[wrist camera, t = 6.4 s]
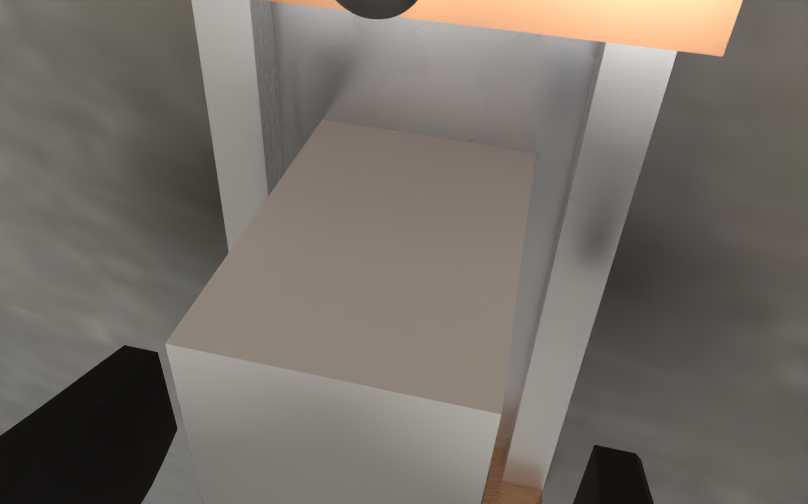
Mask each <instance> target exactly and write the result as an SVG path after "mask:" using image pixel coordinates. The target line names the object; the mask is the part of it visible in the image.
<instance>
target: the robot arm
mask: <svg viewBox="0 0 808 504" xmlns="http://www.w3.org/2000/svg"><path fill="white" fill-rule="evenodd" d="M176 431H177V425H176V421H175V417H174V414H173V410H172V406H171V402H170V398H169V394H168V390H167V386H166V383H165V379H164V375H163V371H162V367H161V363H160V359H159V356H158V352H154V351H149V350H145V349H140V348H135V347H130V346H126V345H124V346H123V347H122V348H120V349H119V350H117V351H116V352H115V353H113V354H112V355H110V356H109V357H108V358H106V359H105V360H104V361H102V362H101V363H99V364H98V365H97V366H95V367H94V368H93V369H91V370H90V371H89V372H87V373H86V374H85V375H83V376H82V377H80V378H79V379H78V380H76V381H75V382H74V383H72V384H71V385H70V386H68V387H67V388H66V389H64V390H63V391H62V392H60V393H59V394H58V395H56V396H55V397H54V398H52V399H51V400H49V401H48V402H47V403H45V404H44V405H43V406H41V407H40V408H39V409H37V410H36V411H34V412H33V413H32V414H30V415H29V416H27V417H26V418H25V419H23V420H22V421H20V422H19V423H18V424H16V425H15V426H13V427H12V428H11V429H9V430H8V431H6V432H5V433H4V434H2V435H1V436H0V504H141V503H142V501H143V499H144V498H145V496H146V494H147V493H148V491H149V489H150V488H151V486H152V484H153V482H154V480H155V478H156V475H157V473H158V471H159V469H160V467H161V465H162V463H163V461H164V459H165V456H166V454H167V452H168V449H169V447H170V445H171V443H172V440H173V438H174V436H175V434H176ZM573 504H654V503H653V499H652V496H651V493H650V490H649V486H648V483H647V480H646V476H645V473H644V469H643V465H642V461H641V459H640V458H639V457H638V456H637V454H635V453H631V452H626V451H621V450H616V449H612V448H607V447H602V446H598V445H594V448H593V451H592V453H591V456H590V459H589V462H588V464H587V467H586V470H585V473H584V475H583V478H582V481H581V484H580V486H579V489H578V492H577V495H576V497H575V500H574V503H573Z"/></svg>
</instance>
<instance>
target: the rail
mask: <svg viewBox="0 0 808 504" xmlns="http://www.w3.org/2000/svg"><path fill="white" fill-rule="evenodd" d="M191 1H192V7H193V14H194V21H195V28H196V34H197V41H198V48H199V55H200V62H201V68H202V75H203V82H204V89H205V95H206V102H207V109H208V116H209V122H210V129H211V136H212V143H213V149H214V156H215V163H216V170H217V176H218V183H219V190H220V197H221V203H222V210H223V217H224V224H225V231H226V237H227V244H228V251H229V252H230V250H231V249H232V248H233V246H234V245H235V243H236V242H237V240H238V239H239V238H240V236H241V235H242V233H243V232H244V231H245V229H246V228H247V226H248V225H249V223H250V222H251V221H252V219H253V218H254V216H255V215H256V213H257V212H258V211H259V209H260V208H261V206H262V205H263V203H264V202H265V201H266V199H267V198H268V196H269V195H270V193H271V192H272V191H273V189H274V188H275V186H276V185H277V183H278V182H279V181H280V179H281V178H282V176H283V175H284V173H285V172H286V171H287V169H288V168H289V166H290V165H291V163H292V162H293V161H294V159H295V158H296V156H297V155H298V153H299V152H300V151H301V149H302V148H303V146H304V145H305V143H306V142H307V141H308V139H309V138H310V136H311V135H312V133H313V132H314V131H315V129H316V128H317V126H318V125H319V123H320V122H321V121H322V119H324V120H331V121H337V122H344V123H350V124H356V125H363V126H369V127H375V128H382V129H388V130H395V131H401V132H407V133H414V134H420V135H427V136H433V137H439V138H446V139H452V140H459V141H465V142H471V143H478V144H484V145H491V146H497V147H503V148H510V149H516V150H523V151H529V152H535V153H536V156H535V164H534V171H533V179H532V187H531V194H530V202H529V209H528V217H527V224H526V232H525V240H524V247H523V255H522V262H521V270H520V277H519V285H518V293H517V300H516V308H515V315H514V323H513V331H512V338H511V346H510V353H509V361H508V368H507V376H506V384H505V391H504V399H503V406H502V414H501V419H500V423H499V427H498V432H497V436H496V440H495V445H494V449H493V453H492V458H491V463H490V470H489V477H488V482H487V486H486V491H485V495H484V499H483V503H482V504H541V503H542V490H543V487H544V484H545V480H546V477H547V474H548V471H549V467H550V464H551V461H552V458H553V454H554V451H555V448H556V445H557V441H558V438H559V435H560V432H561V428H562V425H563V422H564V419H565V415H566V412H567V409H568V406H569V402H570V399H571V396H572V393H573V389H574V386H575V383H576V380H577V376H578V373H579V370H580V367H581V363H582V360H583V357H584V353H585V350H586V347H587V344H588V340H589V337H590V334H591V331H592V327H593V324H594V321H595V318H596V314H597V311H598V308H599V305H600V301H601V298H602V295H603V292H604V288H605V285H606V282H607V279H608V275H609V272H610V269H611V266H612V262H613V259H614V256H615V253H616V249H617V246H618V243H619V240H620V236H621V233H622V230H623V226H624V223H625V220H626V217H627V213H628V210H629V207H630V204H631V200H632V197H633V194H634V191H635V187H636V184H637V181H638V178H639V174H640V171H641V168H642V165H643V161H644V158H645V155H646V152H647V148H648V145H649V142H650V139H651V135H652V132H653V129H654V126H655V122H656V119H657V116H658V113H659V109H660V106H661V103H662V99H663V96H664V93H665V90H666V86H667V83H668V80H669V77H670V73H671V70H672V67H673V64H674V60H675V57H676V54H677V51H682V52H690V53H698V54H706V55H715V56H723V55H724V52H725V49H726V46H727V43H728V41H729V38H730V35H731V32H732V29H733V26H734V24H735V21H736V18H737V15H738V12H739V9H740V6H741V4H742V1H743V0H191Z"/></svg>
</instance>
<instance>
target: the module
mask: <svg viewBox="0 0 808 504" xmlns="http://www.w3.org/2000/svg"><path fill="white" fill-rule="evenodd" d="M535 156H536V153H535V152H529V151H523V150H516V149H510V148H503V147H497V146H491V145H484V144H478V143H471V142H465V141H459V140H452V139H446V138H439V137H433V136H427V135H420V134H414V133H407V132H401V131H395V130H388V129H382V128H375V127H369V126H363V125H356V124H350V123H344V122H337V121H331V120H324V119H322V121H321V122H320V123H319V125H318V126H317V128H316V129H315V131H314V132H313V133H312V135H311V136H310V138H309V139H308V141H307V142H306V143H305V145H304V146H303V148H302V149H301V151H300V152H299V153H298V155H297V156H296V158H295V159H294V161H293V162H292V163H291V165H290V166H289V168H288V169H287V171H286V172H285V173H284V175H283V176H282V178H281V179H280V181H279V182H278V183H277V185H276V186H275V188H274V189H273V191H272V192H271V193H270V195H269V196H268V198H267V199H266V201H265V202H264V203H263V205H262V206H261V208H260V209H259V211H258V212H257V213H256V215H255V216H254V218H253V219H252V221H251V222H250V223H249V225H248V226H247V228H246V229H245V231H244V232H243V233H242V235H241V236H240V238H239V239H238V240H237V242H236V243H235V245H234V246H233V248H232V249H231V250H230V252H229V253H228V255H227V256H226V258H225V259H224V260H223V262H222V263H221V265H220V266H219V268H218V269H217V270H216V272H215V273H214V275H213V276H212V278H211V279H210V280H209V282H208V283H207V285H206V286H205V288H204V289H203V290H202V292H201V293H200V295H199V296H198V298H197V299H196V300H195V302H194V303H193V305H192V306H191V308H190V309H189V310H188V312H187V313H186V315H185V316H184V318H183V319H182V320H181V322H180V323H179V325H178V326H177V328H176V329H175V330H174V332H173V333H172V335H171V336H170V338H169V339H168V340H167V342H166V343H165V345H166V349H167V353H168V357H169V362H170V366H171V370H172V374H173V379H174V383H175V387H176V391H177V395H178V400H179V404H180V408H181V412H182V417H183V421H184V425H185V429H186V434H187V438H188V442H189V446H190V450H191V455H192V459H193V463H194V467H195V472H196V476H197V480H198V484H199V489H200V493H201V497H202V501H203V504H482V503H483V499H484V495H485V491H486V486H487V482H488V477H489V470H490V463H491V458H492V453H493V449H494V445H495V440H496V436H497V432H498V427H499V423H500V419H501V414H502V406H503V399H504V391H505V384H506V376H507V368H508V361H509V353H510V346H511V338H512V331H513V323H514V315H515V308H516V300H517V293H518V285H519V277H520V270H521V262H522V255H523V247H524V240H525V232H526V224H527V217H528V209H529V202H530V194H531V187H532V179H533V171H534V164H535Z"/></svg>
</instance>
